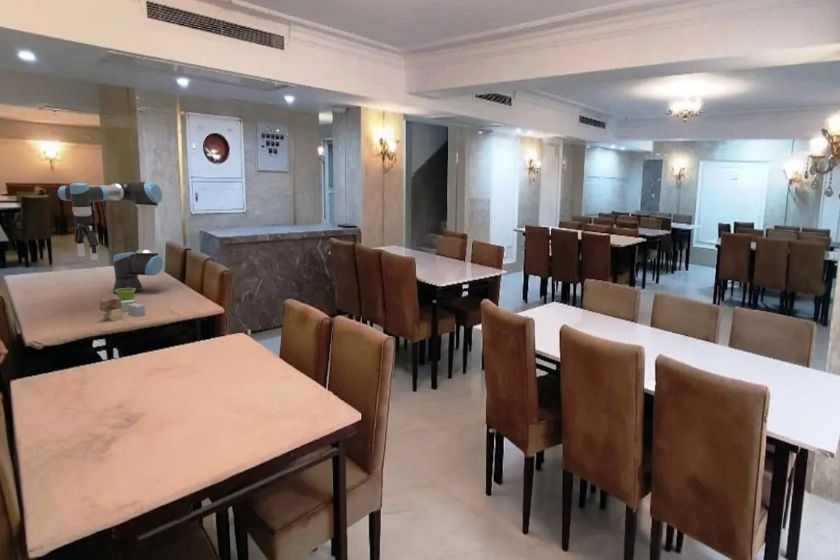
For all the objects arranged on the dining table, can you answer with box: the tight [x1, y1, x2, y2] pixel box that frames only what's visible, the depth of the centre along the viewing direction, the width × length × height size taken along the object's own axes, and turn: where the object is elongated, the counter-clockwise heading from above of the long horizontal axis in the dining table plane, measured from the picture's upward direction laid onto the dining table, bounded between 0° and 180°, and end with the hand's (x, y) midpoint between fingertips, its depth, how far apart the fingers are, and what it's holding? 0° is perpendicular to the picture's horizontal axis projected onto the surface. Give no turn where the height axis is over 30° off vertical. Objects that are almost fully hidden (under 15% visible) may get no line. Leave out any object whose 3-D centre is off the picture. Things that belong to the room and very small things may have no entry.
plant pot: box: [115, 288, 136, 301], centre depth 271 cm, size 9×9×9 cm
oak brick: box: [102, 309, 123, 322], centre depth 248 cm, size 8×4×5 cm, turn 65°
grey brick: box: [127, 302, 146, 317], centre depth 256 cm, size 8×4×5 cm, turn 59°
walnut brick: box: [98, 296, 122, 312], centre depth 247 cm, size 8×4×5 cm, turn 147°
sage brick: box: [120, 299, 136, 313], centre depth 262 cm, size 8×4×5 cm, turn 124°
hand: (88, 258), depth 252 cm, fingers open, 13 cm apart
